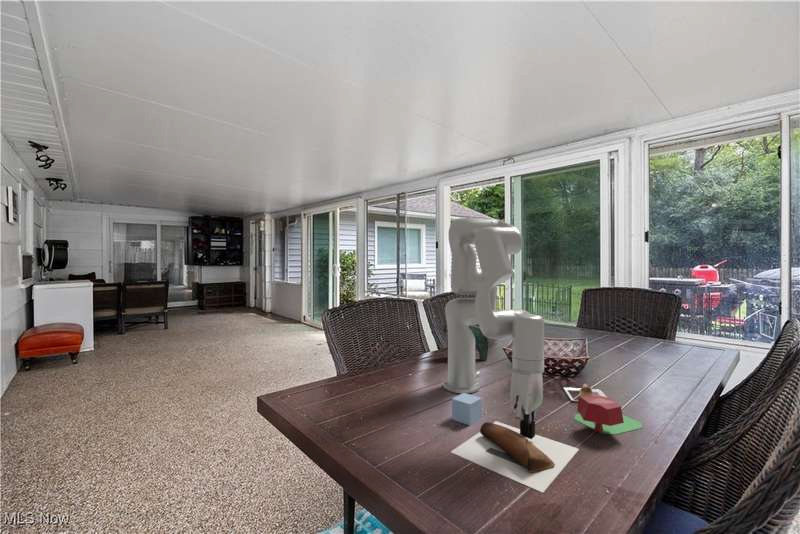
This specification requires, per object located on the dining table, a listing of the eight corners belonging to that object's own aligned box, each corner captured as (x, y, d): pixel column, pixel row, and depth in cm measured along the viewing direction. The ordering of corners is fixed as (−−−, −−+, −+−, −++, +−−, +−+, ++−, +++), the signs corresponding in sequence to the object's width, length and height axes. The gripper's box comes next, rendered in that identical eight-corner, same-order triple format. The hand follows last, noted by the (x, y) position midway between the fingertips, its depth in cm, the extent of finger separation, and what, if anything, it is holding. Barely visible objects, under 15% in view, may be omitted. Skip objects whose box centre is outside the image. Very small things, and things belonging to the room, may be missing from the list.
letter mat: (495, 421, 103) (495, 421, 103) (579, 449, 88) (579, 448, 88) (450, 452, 87) (450, 451, 87) (543, 493, 72) (543, 492, 72)
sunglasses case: (558, 463, 81) (546, 441, 79) (536, 486, 79) (524, 463, 77) (506, 428, 97) (495, 409, 96) (487, 446, 95) (475, 426, 94)
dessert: (612, 406, 114) (612, 391, 114) (571, 403, 117) (571, 388, 116) (600, 392, 126) (600, 379, 126) (562, 390, 128) (562, 376, 128)
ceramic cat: (443, 359, 164) (443, 315, 164) (443, 356, 171) (443, 313, 170) (488, 361, 161) (488, 316, 160) (487, 357, 167) (487, 314, 167)
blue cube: (463, 412, 109) (463, 392, 109) (481, 418, 105) (481, 398, 105) (452, 419, 105) (452, 398, 104) (470, 425, 101) (470, 404, 100)
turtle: (555, 419, 104) (555, 388, 104) (606, 408, 112) (607, 379, 111) (601, 444, 90) (601, 408, 90) (656, 430, 98) (657, 397, 97)
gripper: (526, 355, 100) (525, 421, 100) (499, 367, 89) (499, 442, 89) (554, 360, 95) (553, 430, 95) (530, 374, 84) (529, 453, 84)
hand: (527, 436), depth 92 cm, fingers closed
